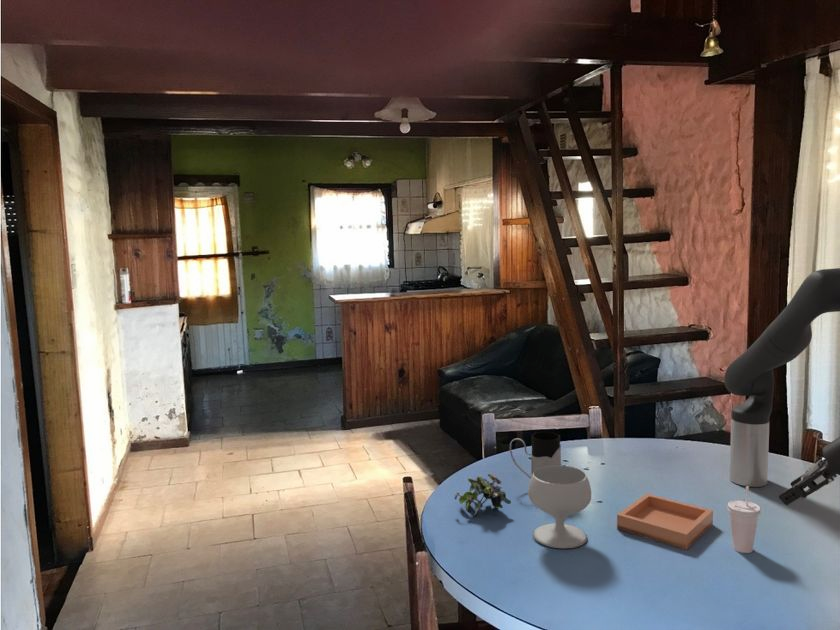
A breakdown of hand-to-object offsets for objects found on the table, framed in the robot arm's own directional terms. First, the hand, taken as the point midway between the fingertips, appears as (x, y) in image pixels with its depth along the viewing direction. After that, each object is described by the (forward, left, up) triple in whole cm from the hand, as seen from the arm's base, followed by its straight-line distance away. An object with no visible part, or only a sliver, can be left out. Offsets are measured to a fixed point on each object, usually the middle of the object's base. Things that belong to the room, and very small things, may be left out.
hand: (788, 494), depth 132 cm
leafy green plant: (+20, -63, -15) cm, 68 cm away
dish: (0, -25, -14) cm, 29 cm away
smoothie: (0, -8, -15) cm, 17 cm away
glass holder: (-1, -61, -15) cm, 63 cm away
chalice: (+20, -41, -15) cm, 48 cm away
